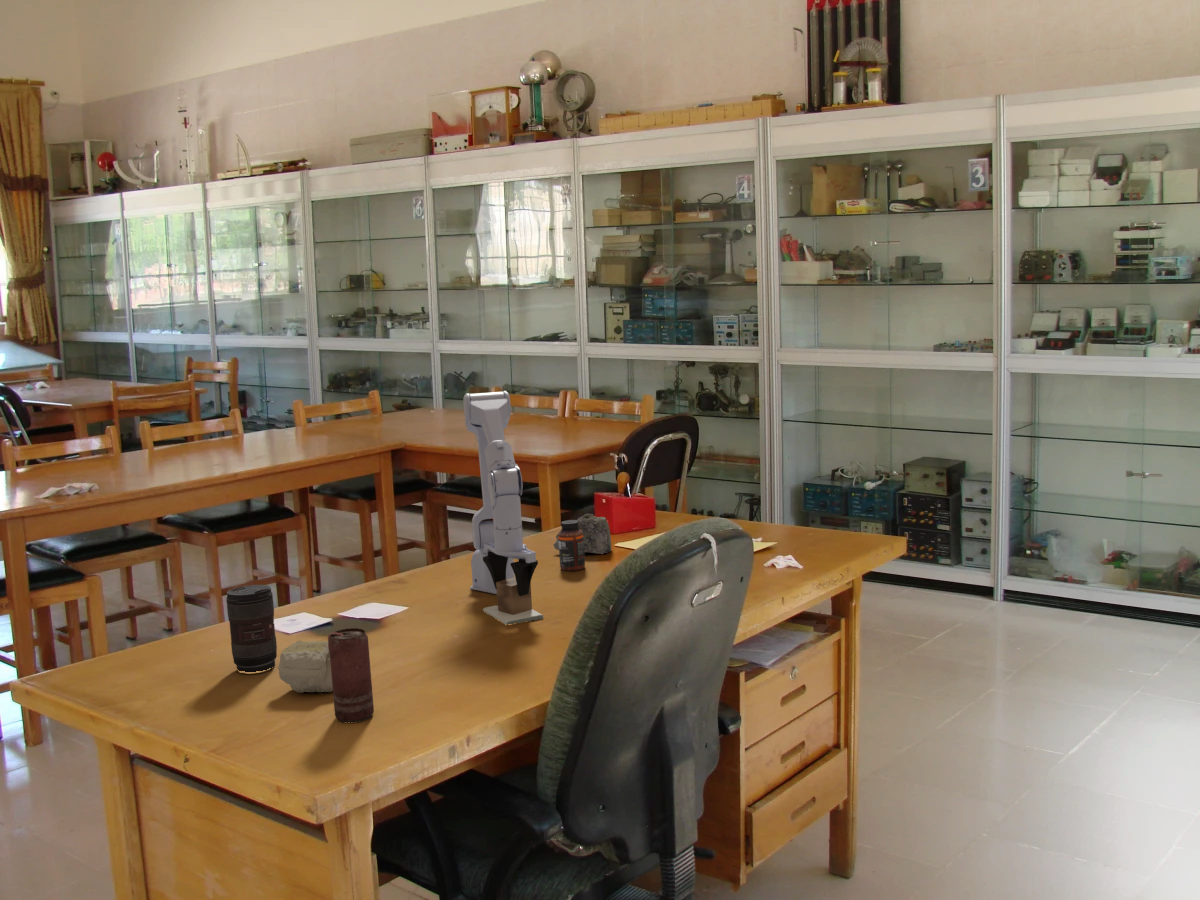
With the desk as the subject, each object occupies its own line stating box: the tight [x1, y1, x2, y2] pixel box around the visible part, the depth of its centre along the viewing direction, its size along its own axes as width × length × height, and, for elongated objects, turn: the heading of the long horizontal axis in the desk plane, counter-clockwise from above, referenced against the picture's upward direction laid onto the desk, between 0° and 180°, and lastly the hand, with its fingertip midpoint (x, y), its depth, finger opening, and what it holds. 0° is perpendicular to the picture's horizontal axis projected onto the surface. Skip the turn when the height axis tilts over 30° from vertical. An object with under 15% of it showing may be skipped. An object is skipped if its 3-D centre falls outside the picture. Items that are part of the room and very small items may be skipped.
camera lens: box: [225, 584, 278, 672], centre depth 210 cm, size 8×8×15 cm
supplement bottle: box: [557, 519, 586, 572], centre depth 271 cm, size 6×6×11 cm
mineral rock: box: [553, 513, 612, 555], centre depth 287 cm, size 13×11×10 cm
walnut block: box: [496, 576, 533, 615], centre depth 237 cm, size 5×5×6 cm
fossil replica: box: [277, 640, 333, 694], centre depth 198 cm, size 12×8×10 cm
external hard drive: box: [482, 604, 544, 626], centre depth 237 cm, size 2×8×12 cm
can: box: [327, 627, 375, 724], centre depth 184 cm, size 6×6×14 cm
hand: (511, 591), depth 237 cm, fingers open, 7 cm apart
